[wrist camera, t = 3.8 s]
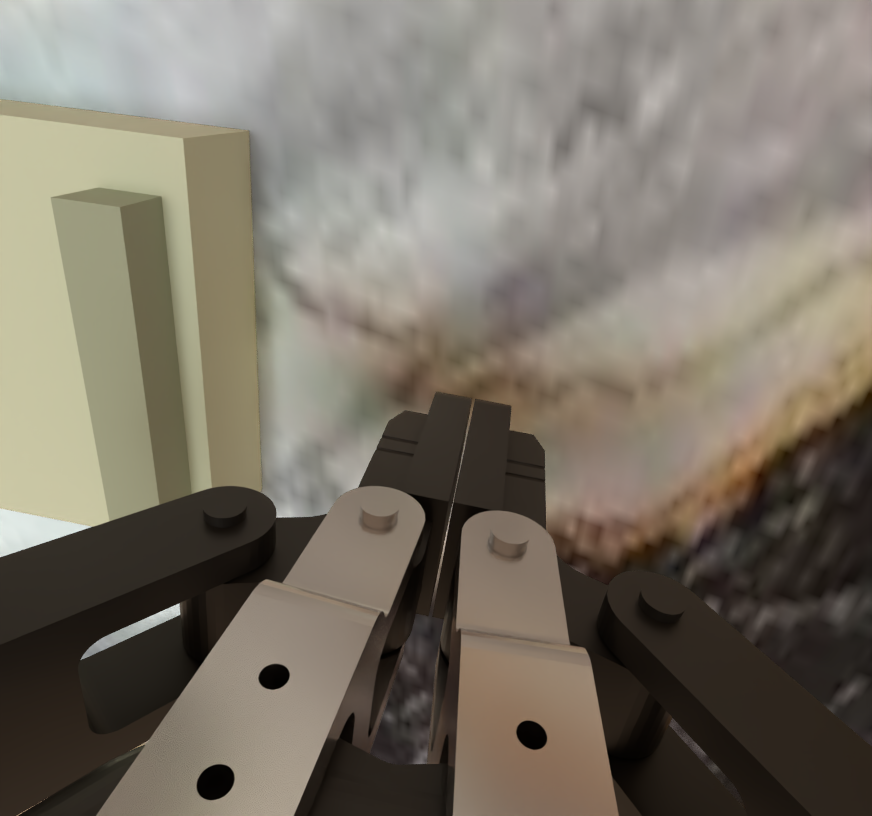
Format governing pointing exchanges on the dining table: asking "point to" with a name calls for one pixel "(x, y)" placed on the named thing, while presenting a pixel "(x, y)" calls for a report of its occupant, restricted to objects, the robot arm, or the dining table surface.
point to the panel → (124, 312)
